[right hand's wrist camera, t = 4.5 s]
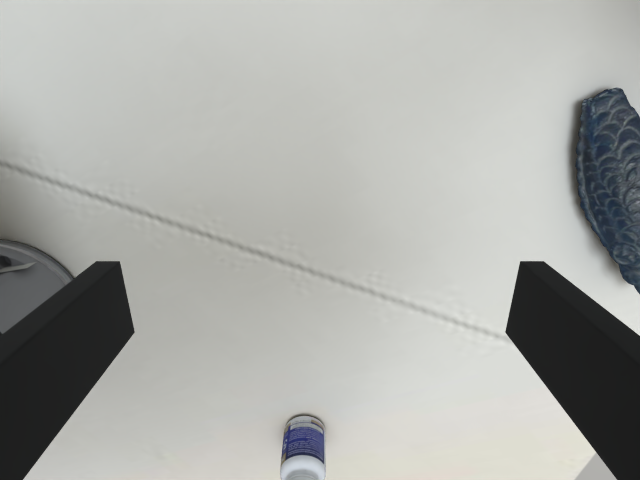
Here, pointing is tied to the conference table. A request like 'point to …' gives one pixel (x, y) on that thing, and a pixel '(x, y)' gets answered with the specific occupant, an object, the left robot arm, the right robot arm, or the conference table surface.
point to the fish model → (612, 177)
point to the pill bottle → (303, 450)
